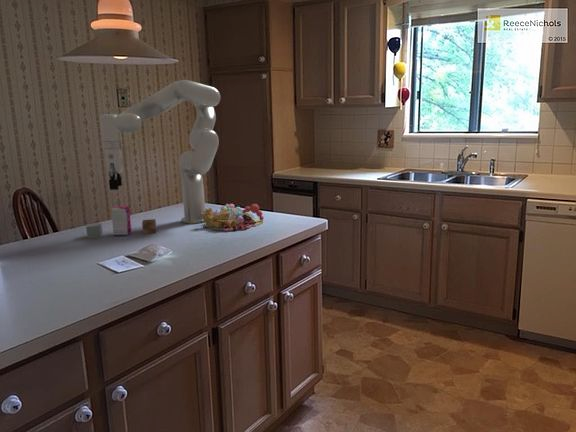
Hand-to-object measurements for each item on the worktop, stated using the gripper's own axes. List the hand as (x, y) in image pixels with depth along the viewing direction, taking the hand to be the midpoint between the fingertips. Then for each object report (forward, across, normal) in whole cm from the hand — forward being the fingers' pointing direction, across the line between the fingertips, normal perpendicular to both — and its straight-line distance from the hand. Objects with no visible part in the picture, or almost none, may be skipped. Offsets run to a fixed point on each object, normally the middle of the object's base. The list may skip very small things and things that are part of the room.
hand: (116, 187), depth 198 cm
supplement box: (+20, 0, -1) cm, 20 cm away
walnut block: (+20, 0, -12) cm, 23 cm away
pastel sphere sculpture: (+19, +3, -47) cm, 51 cm away
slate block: (+20, 0, +10) cm, 23 cm away
